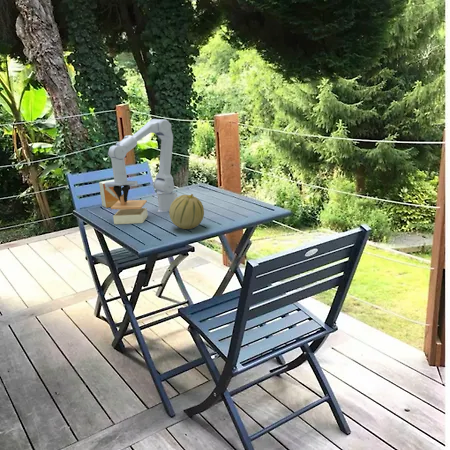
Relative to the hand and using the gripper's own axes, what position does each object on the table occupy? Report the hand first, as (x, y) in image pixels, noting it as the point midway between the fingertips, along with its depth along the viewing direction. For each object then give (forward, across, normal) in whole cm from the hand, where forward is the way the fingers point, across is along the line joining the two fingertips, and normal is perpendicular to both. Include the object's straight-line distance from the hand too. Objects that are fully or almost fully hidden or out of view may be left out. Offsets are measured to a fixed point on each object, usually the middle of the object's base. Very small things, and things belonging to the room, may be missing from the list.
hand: (123, 201), depth 212 cm
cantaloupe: (+10, +31, -14) cm, 35 cm away
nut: (+9, +5, +2) cm, 10 cm away
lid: (+2, +2, 0) cm, 3 cm away
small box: (+10, -16, +30) cm, 35 cm away
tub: (+10, +2, 0) cm, 10 cm away
